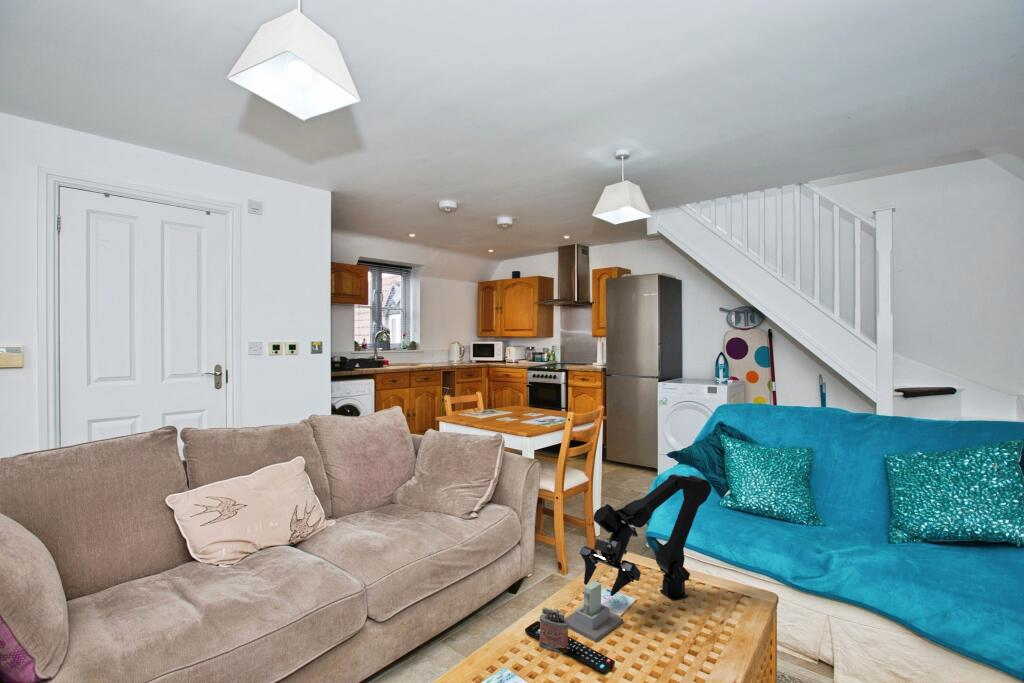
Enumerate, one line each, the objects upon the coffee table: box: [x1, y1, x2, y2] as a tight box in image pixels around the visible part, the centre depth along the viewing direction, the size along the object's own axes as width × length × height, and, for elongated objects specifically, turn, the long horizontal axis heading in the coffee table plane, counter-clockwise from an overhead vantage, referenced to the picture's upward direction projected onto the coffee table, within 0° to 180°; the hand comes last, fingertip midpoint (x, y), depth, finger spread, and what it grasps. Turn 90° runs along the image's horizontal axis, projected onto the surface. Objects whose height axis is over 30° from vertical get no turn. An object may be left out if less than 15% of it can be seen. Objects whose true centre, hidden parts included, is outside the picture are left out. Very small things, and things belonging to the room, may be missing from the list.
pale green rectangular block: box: [583, 580, 602, 617], centre depth 143 cm, size 2×6×10 cm, turn 134°
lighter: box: [538, 607, 569, 654], centre depth 131 cm, size 8×3×10 cm, turn 65°
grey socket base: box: [564, 603, 624, 643], centre depth 143 cm, size 12×14×4 cm
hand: (597, 589), depth 145 cm, fingers open, 9 cm apart
